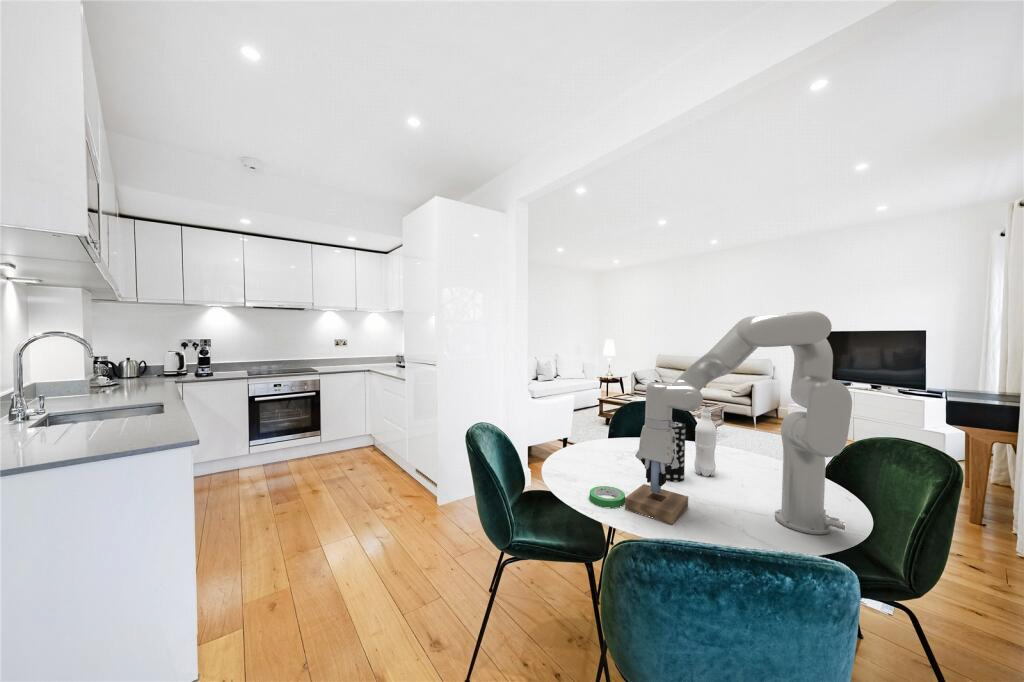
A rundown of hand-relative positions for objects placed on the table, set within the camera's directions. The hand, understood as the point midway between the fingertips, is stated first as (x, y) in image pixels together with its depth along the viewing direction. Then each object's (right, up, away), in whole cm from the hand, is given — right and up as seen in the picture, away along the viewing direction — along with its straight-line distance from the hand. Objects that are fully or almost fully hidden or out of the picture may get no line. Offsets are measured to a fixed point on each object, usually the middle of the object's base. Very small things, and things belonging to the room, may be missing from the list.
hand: (655, 482), depth 116 cm
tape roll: (-13, -8, +6) cm, 17 cm away
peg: (0, -3, 0) cm, 3 cm away
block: (0, -8, 0) cm, 8 cm away
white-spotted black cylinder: (+15, -8, +24) cm, 30 cm away
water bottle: (+29, -7, +28) cm, 41 cm away
